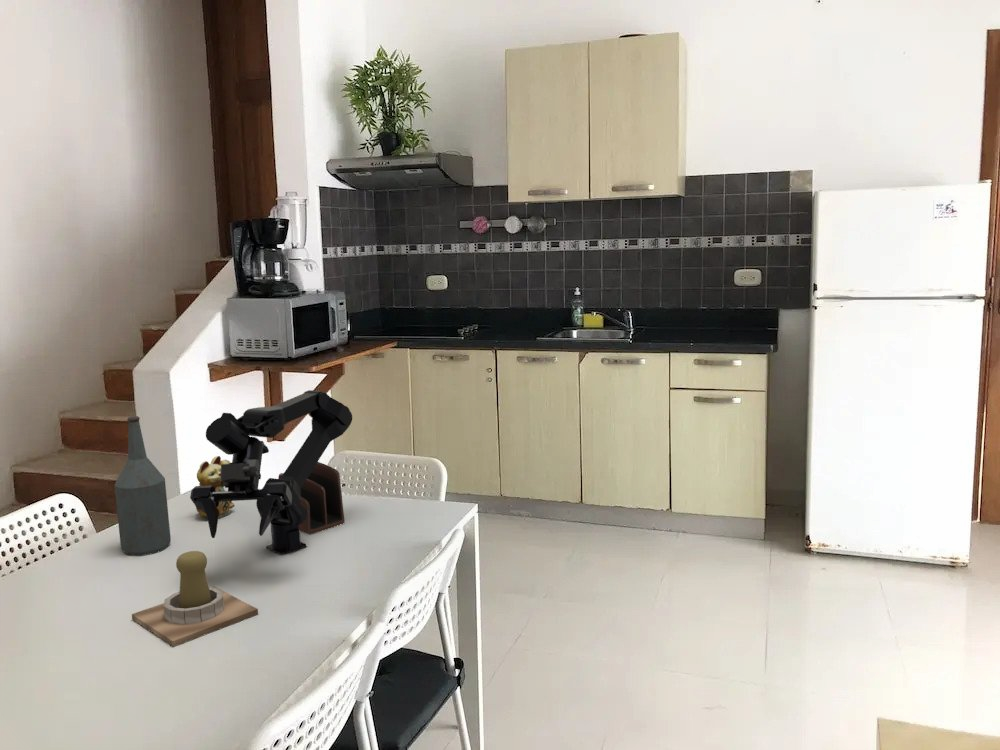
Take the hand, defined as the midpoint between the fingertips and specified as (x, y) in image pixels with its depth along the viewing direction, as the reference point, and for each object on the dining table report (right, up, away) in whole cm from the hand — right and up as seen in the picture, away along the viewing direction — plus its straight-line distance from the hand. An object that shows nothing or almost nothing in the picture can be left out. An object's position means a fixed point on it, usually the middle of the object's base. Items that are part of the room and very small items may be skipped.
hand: (236, 535), depth 162 cm
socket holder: (-4, -13, -10) cm, 17 cm away
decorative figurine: (-20, -4, +47) cm, 51 cm away
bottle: (-28, -8, +25) cm, 39 cm away
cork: (-4, -12, -10) cm, 16 cm away
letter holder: (+3, -4, +41) cm, 41 cm away
